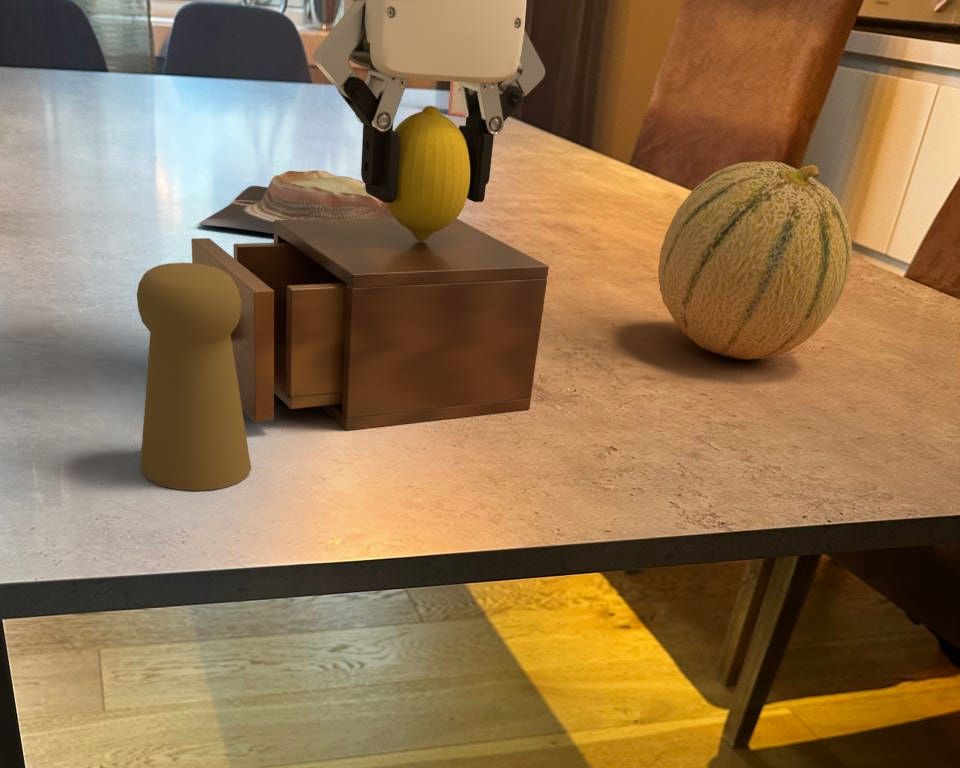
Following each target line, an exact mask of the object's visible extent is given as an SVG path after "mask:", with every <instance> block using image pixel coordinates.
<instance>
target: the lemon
mask: <svg viewBox="0 0 960 768" xmlns="http://www.w3.org/2000/svg"><path fill="white" fill-rule="evenodd" d="M393 131H395V132H397V133H399V136H400V153H399V169H398V185H397V198H396V200H394V202H393V203H386V204H387V206H388V208H389V210H390V212H391V214H392V215H393V217H394V218H395V219H396V220H397V221H398V222H399V223H400V224H401V225H403V226H405V227H406V228H408V229H409V230H410V231H411V233H412V234H413V236H414V237H415V238H416V240H419V241H426V240H427V239H428V238H429V237H430V236H431V235H432V234H433V233H435V232H437V231H439V230H442V229H444V228H446V227H448V226H449V225H450V224H451V223H452V222H454V221H455V219H456V218H457V219H458V218H459V216H460V214H461V213H462V212H463V209H464V207H465V205H466V202H467V200H468V199H467V196H468V191H469V185H470V161H469V154H468V148H467V144H466V141H465V139H464V136H463V134H462V133H461V131H460V130H459V126H457V124H456V123H454V122H453V121H452V120H451V119H449V118H448V117H447V116H445V115H443V114H442V113H441V112H440V110H439V108H438V107H437V106H433V105H427V106H425V107H423V109H422V110H421V111H419V112H416V113H413V114H411V115H408V116H407V117H406V118H405V119H403V120H402V121H400V122H399V124H398V125H397V126H396V127H395V129H393Z"/></svg>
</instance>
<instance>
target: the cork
mask: <svg viewBox="0 0 960 768" xmlns="http://www.w3.org/2000/svg"><path fill="white" fill-rule="evenodd" d="M136 301H137V309H138V312H139V316H140V320H141V322H142V324H143V325H144V326H145V328H146V329H147V330H148V331H149V347H148V359H147V370H146V371H147V372H146V374H147V375H146V385H145V400H144V412H143V424H142V425H143V426H142V439H141V440H142V441H141V454H140V465H139V466H140V472H141V474H142V475H143V476H144V477H145V478H146V479H147V480H149V481H150V482H152V483H154V484H157V485H158V486H162V487H166V488H169V489H173V490H180V491H191V492H196V491H197V492H198V491H199V492H200V491H214V490H218V489H224V488H228V487H231V486H234V485H236V484H239V483H241V482H242V481H244V480H245V479H246V478H248V476H250V475H249V474H250V473H251V470H252V466H251V458H250V453H249V446H248V438H247V433H246V425H245V419H244V413H243V408H242V406H241V399H240V393H239V386H238V380H237V373H236V367H235V360H234V354H233V347H232V341H231V333H232V332H233V330H234V329H235V327H236V326H237V324H238V322H239V318H240V314H241V298H240V294H239V290H238V288H237V286H236V284H235V282H234V281H233V279H232V277H231V276H230V275H228V274H227V273H225V272H224V271H222V270H220V269H218V268H215V267H212V266H208V265H203V264H195V263H192V262H171V263H170V262H169V263H163V264H159V265H156V266H154V267H151V268H150V269H148V270H147V271H146V272H145V273H144V274H143V275H142V276H141V279H140V281H139V282H138V286H137V291H136Z"/></svg>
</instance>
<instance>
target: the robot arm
mask: <svg viewBox="0 0 960 768" xmlns="http://www.w3.org/2000/svg"><path fill="white" fill-rule="evenodd" d="M343 10H344V11H343V15H342V17H340V19H339V20H338V22H337V23H336V24H335V25H334V27H333V28H332V29H331V30H330V32H329V33H328V34H327V35H326V36H325V38H324V39H323V40H322V42H321V43H320V44H319V45H318V47H317V48H316V49H315V50H314V52H313V56H312V59H313V62H314V64H315V65H316V67H318V69H319V70H320V71H321V73H323V75H324V76H325V77H326V78H327V80H328V81H329V82H330V84H332V85H333V86H334V87H335V88H336V90H337V92H338V93H339V95H340V96H341V98H342V99H343V100H344V101H345V102H346V104H347V105H348V106H349V108H350V109H351V111H353V113H354V115H355V118H356V120H357V121H358V122H359V123H361V124H362V141H361V142H362V144H361V161H360V163H361V165H360V166H361V167H360V176H361V180H362V182H363V183H364V184H365V189H366V192H367V193H368V194H369V195H371V196H373V197H375V198H377V199H379V200H380V201H382V202H384V203H393V202H394V200H396V198H397V185H398V169H399V153H400V136H399V133H397V132H395V131H394V121H395V119H396V115H397V112H398V109H399V106H400V104H401V102H402V98H403V95H404V92H405V89H406V87H407V85H408V81H409V80H420V81H437V82H451V81H454V82H459V84H460V90H461V95H462V100H463V106H464V111H465V116H466V117H465V125H458V128H459V130H460V131H461V133H462V134H463V136H464V139H465V141H466V144H467V148H468V154H469V161H470V185H469V191H468V196H467V199H466V200H469V201H471V202H473V203H483V202H484V201H485V197H486V187H487V185H488V184H489V182H490V176H491V167H492V158H493V150H494V149H493V148H494V147H493V146H494V138H495V135H496V136H497V135H498V134H501V132H502V131H503V129H504V125H505V121H506V120H507V119H508V118H509V117H510V116H511V115H512V114H513V112H515V110H516V109H517V108H518V107H519V106H520V105H521V103H522V101H523V98H524V97H526V96H527V95H529V93H531V92H532V91H533V90H534V89H535V88H536V87H537V86H538V84H540V83H541V82H542V81H543V80H544V78H545V76H546V67H545V66H544V64H543V61H542V59H541V58H540V56H539V54H538V53H537V50H536V49H535V47H534V44H533V43H532V41H531V39H530V37H529V35H528V33H527V31H526V29H525V27H526V26H525V25H526V15H527V14H526V12H527V0H344V9H343ZM350 62H352V63H353V64H355V65H357V66H359V67H363V68H367V69H368V72H367V74H366V77H365V81H364V80H363V79H362V78H360V77H359V75H358V74H357V73H356V72H355V70H354V69H353V67H352V66H351V64H350Z"/></svg>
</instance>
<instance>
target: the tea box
mask: <svg viewBox="0 0 960 768" xmlns="http://www.w3.org/2000/svg"><path fill="white" fill-rule="evenodd" d="M449 85H450V86H449V97H448V111H447V113H448V116H455V117H464V118H466V116H465V111H464V106H463V100H462V95H461V90H460V84H459V82H454V81H450V84H449Z"/></svg>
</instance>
